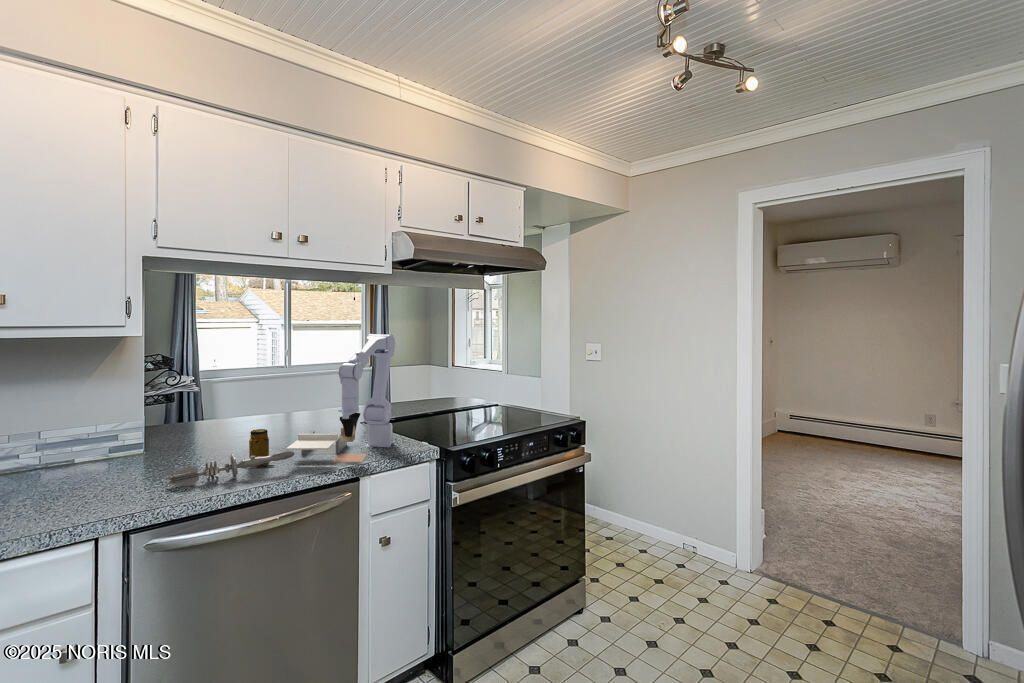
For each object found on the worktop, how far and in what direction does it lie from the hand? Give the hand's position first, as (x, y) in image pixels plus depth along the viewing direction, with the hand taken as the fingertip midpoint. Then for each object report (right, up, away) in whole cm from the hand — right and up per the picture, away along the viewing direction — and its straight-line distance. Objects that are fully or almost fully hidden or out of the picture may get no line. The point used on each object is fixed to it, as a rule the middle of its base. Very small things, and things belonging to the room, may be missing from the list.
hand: (350, 435), depth 183 cm
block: (-1, -2, 0) cm, 2 cm away
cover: (-12, -3, -4) cm, 13 cm away
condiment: (-28, -9, -8) cm, 30 cm away
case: (-13, -8, +11) cm, 19 cm away
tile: (0, -9, +1) cm, 9 cm away
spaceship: (-29, -10, -22) cm, 38 cm away
